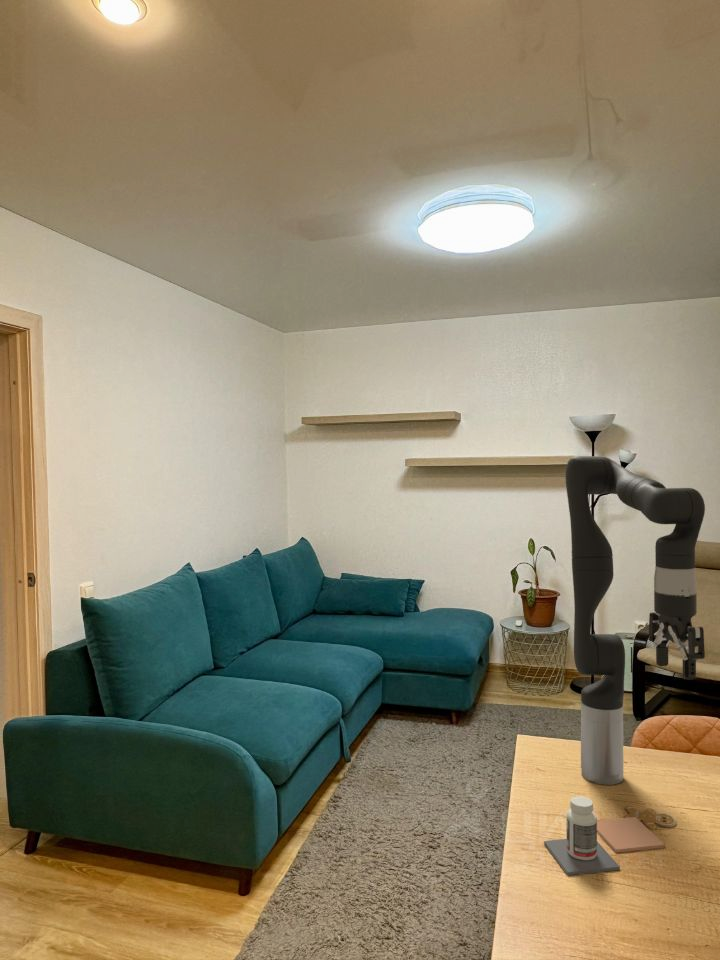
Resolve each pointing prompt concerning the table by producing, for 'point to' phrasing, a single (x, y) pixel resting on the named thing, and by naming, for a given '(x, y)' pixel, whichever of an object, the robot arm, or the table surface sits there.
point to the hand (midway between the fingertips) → (675, 672)
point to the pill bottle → (581, 829)
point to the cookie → (651, 818)
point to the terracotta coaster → (627, 835)
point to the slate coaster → (580, 866)
